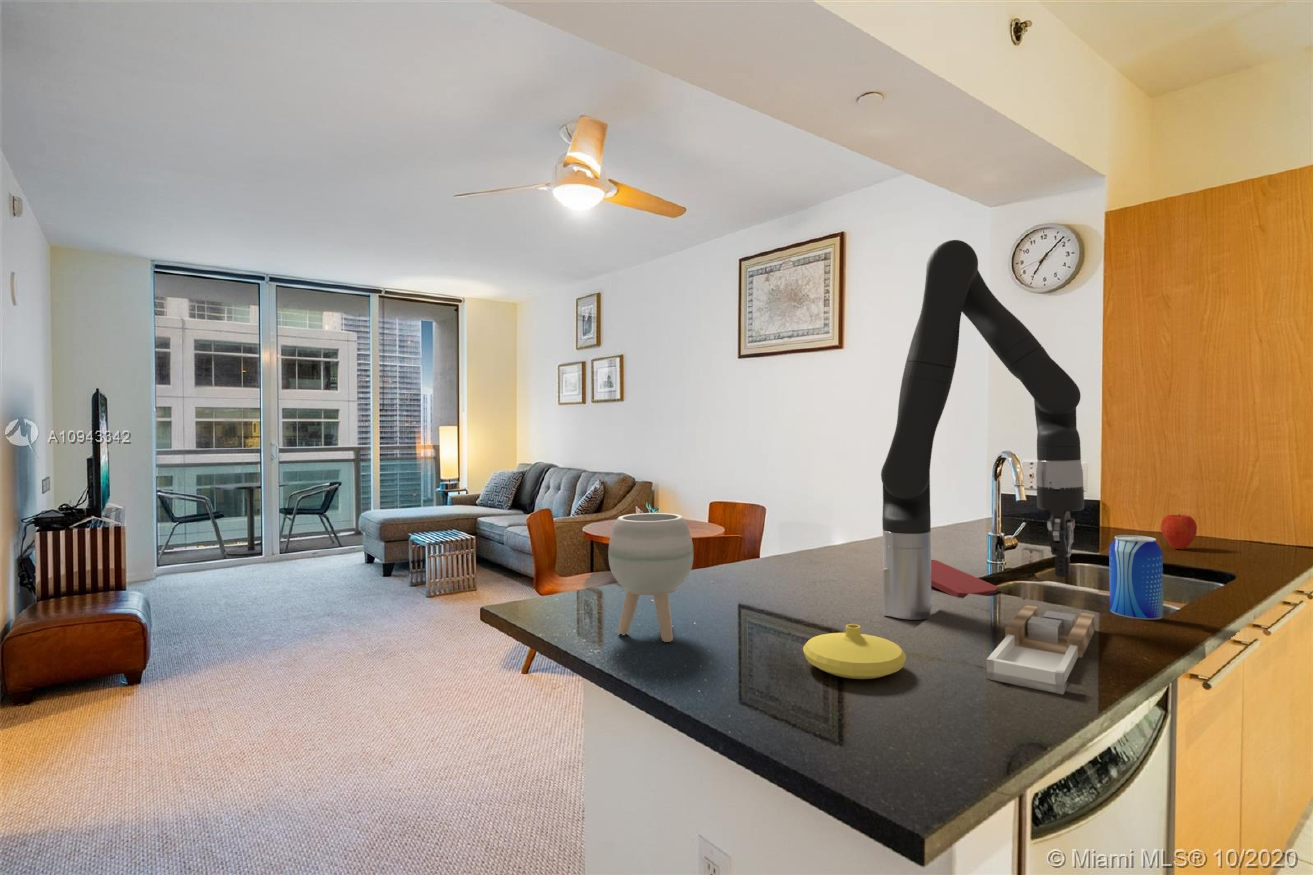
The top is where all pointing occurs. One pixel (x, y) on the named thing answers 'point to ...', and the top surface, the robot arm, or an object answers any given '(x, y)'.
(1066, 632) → the chip
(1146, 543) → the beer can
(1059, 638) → the chip
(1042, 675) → the tray
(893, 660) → the vase
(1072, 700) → the top surface
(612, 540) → the planter
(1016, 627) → the slot board
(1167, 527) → the apple
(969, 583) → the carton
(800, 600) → the top surface
